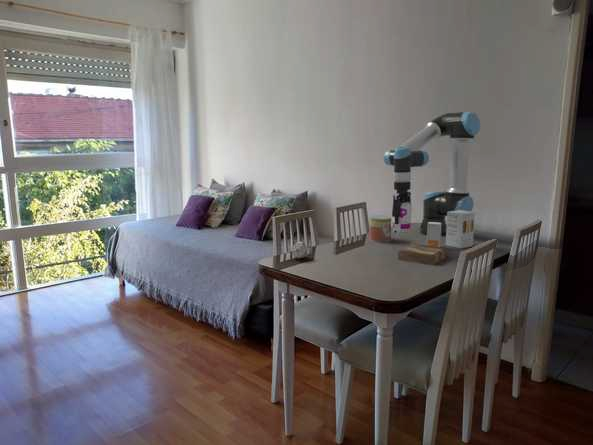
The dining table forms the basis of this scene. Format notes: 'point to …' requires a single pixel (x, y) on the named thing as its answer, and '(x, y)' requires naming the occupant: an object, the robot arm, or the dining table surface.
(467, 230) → the supplement box
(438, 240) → the skincare box
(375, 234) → the canned food
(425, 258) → the tray
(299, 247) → the game die
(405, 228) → the supplement can
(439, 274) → the dining table surface
